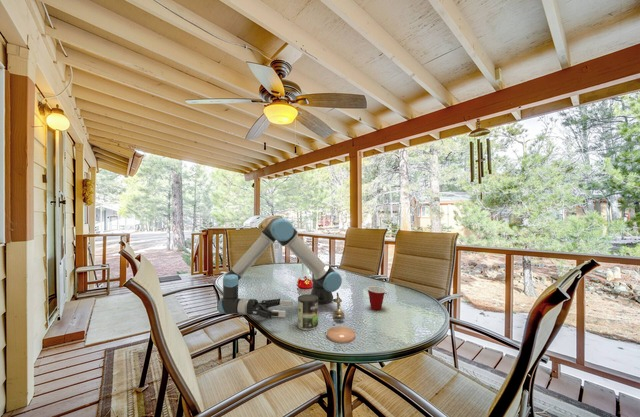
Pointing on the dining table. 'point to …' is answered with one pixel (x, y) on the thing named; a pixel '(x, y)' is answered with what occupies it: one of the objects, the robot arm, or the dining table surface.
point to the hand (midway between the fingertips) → (288, 308)
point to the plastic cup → (376, 297)
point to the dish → (340, 334)
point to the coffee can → (308, 312)
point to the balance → (338, 309)
